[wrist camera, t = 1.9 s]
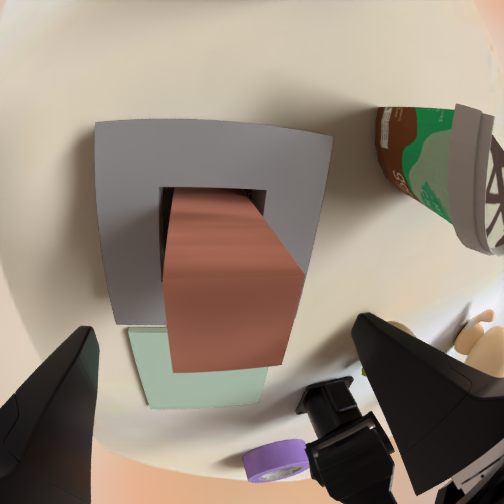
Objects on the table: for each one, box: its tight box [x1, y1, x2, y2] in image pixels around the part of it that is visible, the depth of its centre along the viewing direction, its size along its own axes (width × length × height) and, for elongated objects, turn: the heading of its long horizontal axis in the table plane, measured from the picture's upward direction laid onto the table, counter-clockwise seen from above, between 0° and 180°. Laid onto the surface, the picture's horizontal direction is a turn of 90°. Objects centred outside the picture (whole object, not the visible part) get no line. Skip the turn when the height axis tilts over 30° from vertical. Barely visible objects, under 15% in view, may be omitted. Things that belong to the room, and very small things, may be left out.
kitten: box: [454, 310, 504, 378], centre depth 30 cm, size 15×10×15 cm, turn 160°
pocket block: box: [94, 119, 334, 325], centre depth 16 cm, size 12×12×3 cm
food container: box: [375, 104, 504, 256], centre depth 14 cm, size 12×6×10 cm, turn 71°
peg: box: [163, 187, 305, 373], centre depth 13 cm, size 4×4×10 cm
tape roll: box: [242, 439, 310, 483], centre depth 37 cm, size 12×12×5 cm
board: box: [128, 327, 268, 409], centre depth 23 cm, size 12×12×1 cm
